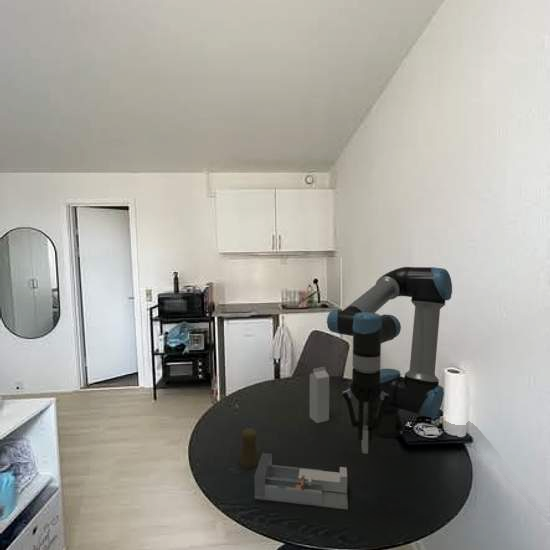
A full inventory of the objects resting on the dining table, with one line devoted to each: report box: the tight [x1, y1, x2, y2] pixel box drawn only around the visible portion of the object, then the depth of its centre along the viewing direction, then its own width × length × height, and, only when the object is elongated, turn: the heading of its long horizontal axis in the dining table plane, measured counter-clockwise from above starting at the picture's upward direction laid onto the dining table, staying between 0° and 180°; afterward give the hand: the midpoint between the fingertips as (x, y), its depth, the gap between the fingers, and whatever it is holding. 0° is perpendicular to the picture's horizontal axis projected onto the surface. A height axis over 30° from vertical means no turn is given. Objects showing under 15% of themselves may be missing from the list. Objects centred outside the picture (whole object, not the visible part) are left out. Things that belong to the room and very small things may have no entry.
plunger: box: [298, 466, 348, 494], centre depth 100 cm, size 14×7×5 cm, turn 80°
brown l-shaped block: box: [296, 475, 305, 489], centre depth 97 cm, size 2×4×5 cm, turn 170°
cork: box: [239, 428, 259, 469], centre depth 114 cm, size 6×6×11 cm
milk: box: [309, 366, 330, 424], centre depth 144 cm, size 6×6×22 cm
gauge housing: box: [254, 452, 349, 510], centre depth 101 cm, size 26×11×7 cm, turn 80°
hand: (364, 450), depth 97 cm, fingers closed
